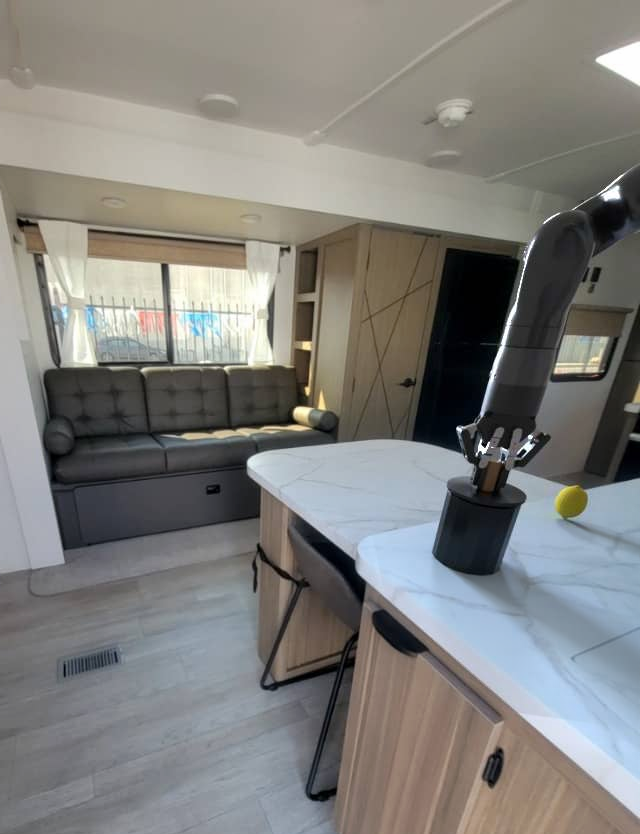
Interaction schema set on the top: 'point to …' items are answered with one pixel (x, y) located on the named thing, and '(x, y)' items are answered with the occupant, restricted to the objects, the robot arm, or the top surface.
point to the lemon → (571, 502)
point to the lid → (487, 488)
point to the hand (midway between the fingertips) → (486, 488)
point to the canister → (473, 535)
